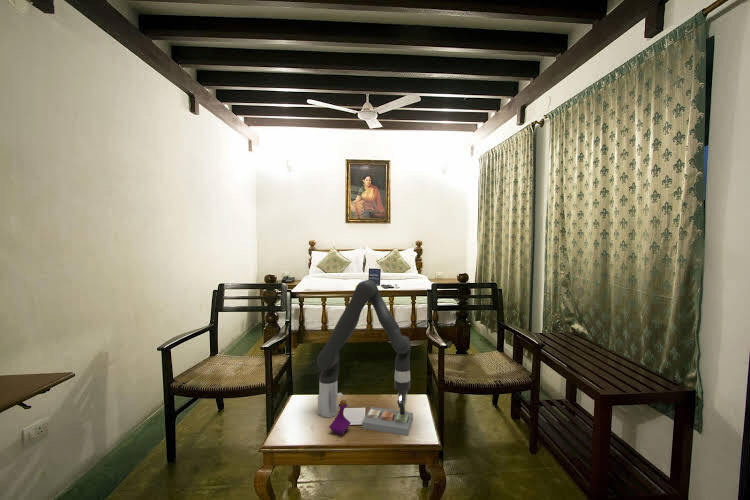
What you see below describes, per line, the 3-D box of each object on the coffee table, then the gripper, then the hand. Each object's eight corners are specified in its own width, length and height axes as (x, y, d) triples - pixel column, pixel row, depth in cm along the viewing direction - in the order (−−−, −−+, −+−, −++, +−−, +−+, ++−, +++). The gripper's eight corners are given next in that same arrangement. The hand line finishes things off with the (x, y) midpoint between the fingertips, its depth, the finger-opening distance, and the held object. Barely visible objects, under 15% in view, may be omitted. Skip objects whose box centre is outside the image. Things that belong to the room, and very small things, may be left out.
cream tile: (368, 418, 162) (368, 414, 162) (370, 413, 166) (370, 409, 166) (377, 419, 160) (377, 415, 160) (380, 414, 165) (380, 410, 165)
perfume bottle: (351, 429, 156) (351, 391, 156) (342, 438, 149) (342, 398, 149) (337, 425, 159) (337, 388, 159) (328, 434, 153) (328, 395, 152)
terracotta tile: (381, 420, 160) (381, 416, 160) (384, 415, 164) (384, 411, 164) (392, 421, 158) (392, 417, 158) (394, 416, 163) (394, 412, 163)
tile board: (362, 428, 157) (362, 422, 157) (370, 412, 172) (370, 406, 172) (407, 435, 151) (407, 429, 151) (412, 418, 166) (412, 412, 166)
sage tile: (396, 422, 158) (396, 418, 158) (398, 417, 163) (398, 413, 163) (406, 423, 156) (406, 419, 156) (408, 418, 161) (408, 414, 161)
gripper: (397, 372, 166) (397, 406, 167) (391, 383, 154) (391, 420, 154) (412, 374, 164) (412, 408, 165) (407, 385, 152) (407, 422, 152)
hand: (402, 414), depth 159 cm, fingers closed
